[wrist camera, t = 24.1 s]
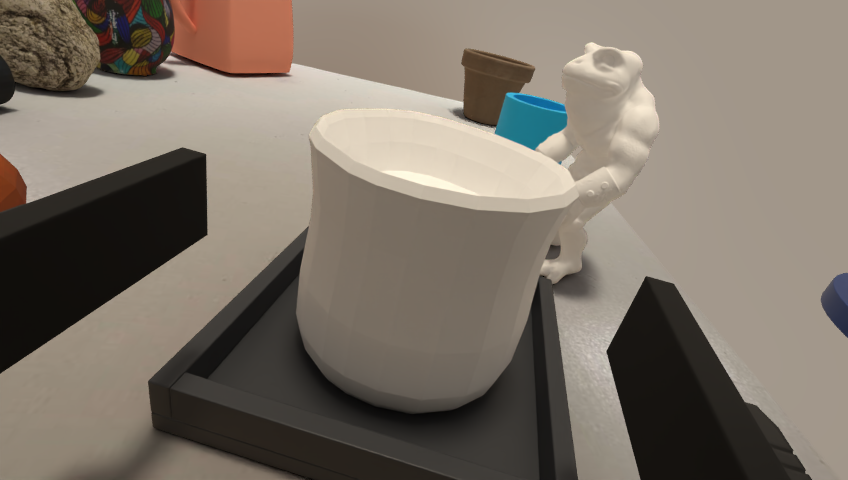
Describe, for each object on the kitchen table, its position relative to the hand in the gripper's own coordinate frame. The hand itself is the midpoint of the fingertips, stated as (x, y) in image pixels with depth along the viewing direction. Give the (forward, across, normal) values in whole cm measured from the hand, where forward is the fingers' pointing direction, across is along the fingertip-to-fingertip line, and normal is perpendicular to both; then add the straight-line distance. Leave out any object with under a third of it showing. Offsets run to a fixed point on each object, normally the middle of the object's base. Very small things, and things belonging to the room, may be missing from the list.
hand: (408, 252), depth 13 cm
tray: (+5, 0, -8) cm, 10 cm away
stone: (+27, -42, -9) cm, 51 cm away
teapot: (+58, -43, -9) cm, 73 cm away
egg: (+40, -44, -9) cm, 60 cm away
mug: (+42, +6, -9) cm, 43 cm away
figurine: (+20, +8, -9) cm, 23 cm away
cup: (+5, 0, -8) cm, 9 cm away
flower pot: (+65, 0, -9) cm, 66 cm away
